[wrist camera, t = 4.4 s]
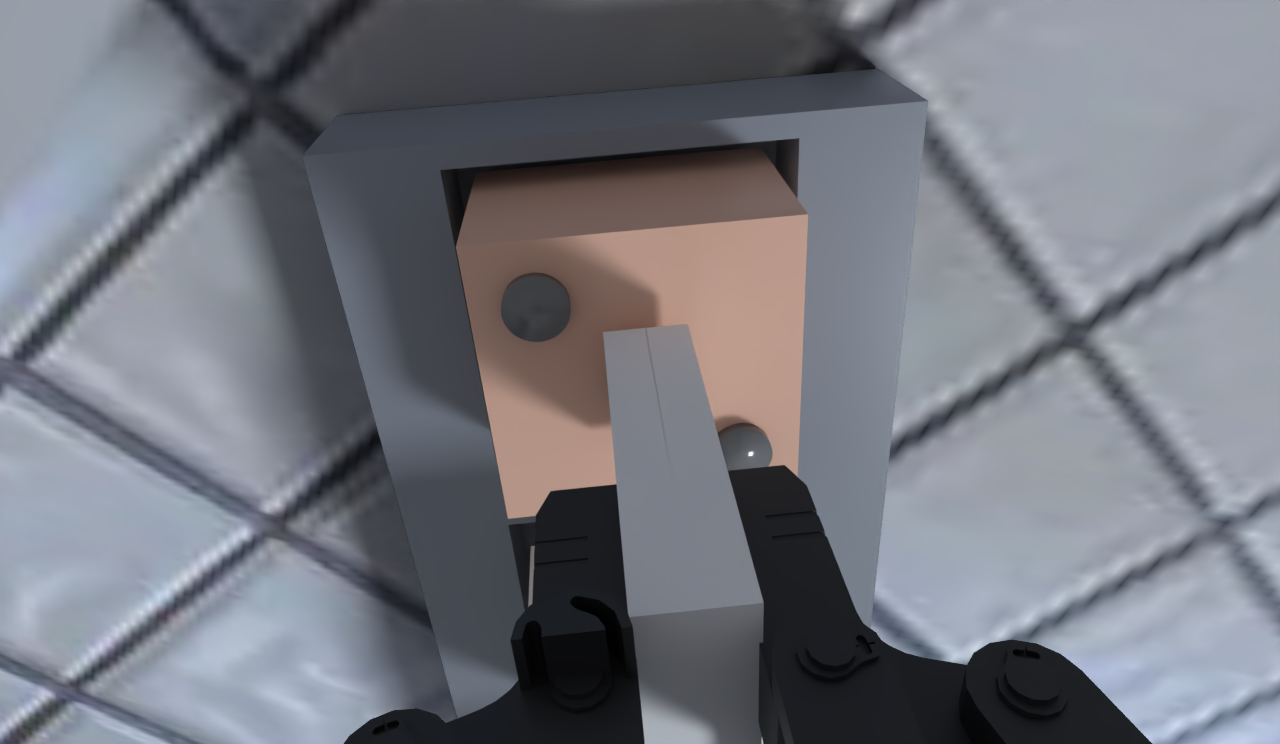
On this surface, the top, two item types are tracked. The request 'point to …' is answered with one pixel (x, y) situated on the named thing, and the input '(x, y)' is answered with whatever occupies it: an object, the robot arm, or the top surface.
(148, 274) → the top surface
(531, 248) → the tile three
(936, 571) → the top surface
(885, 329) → the console
